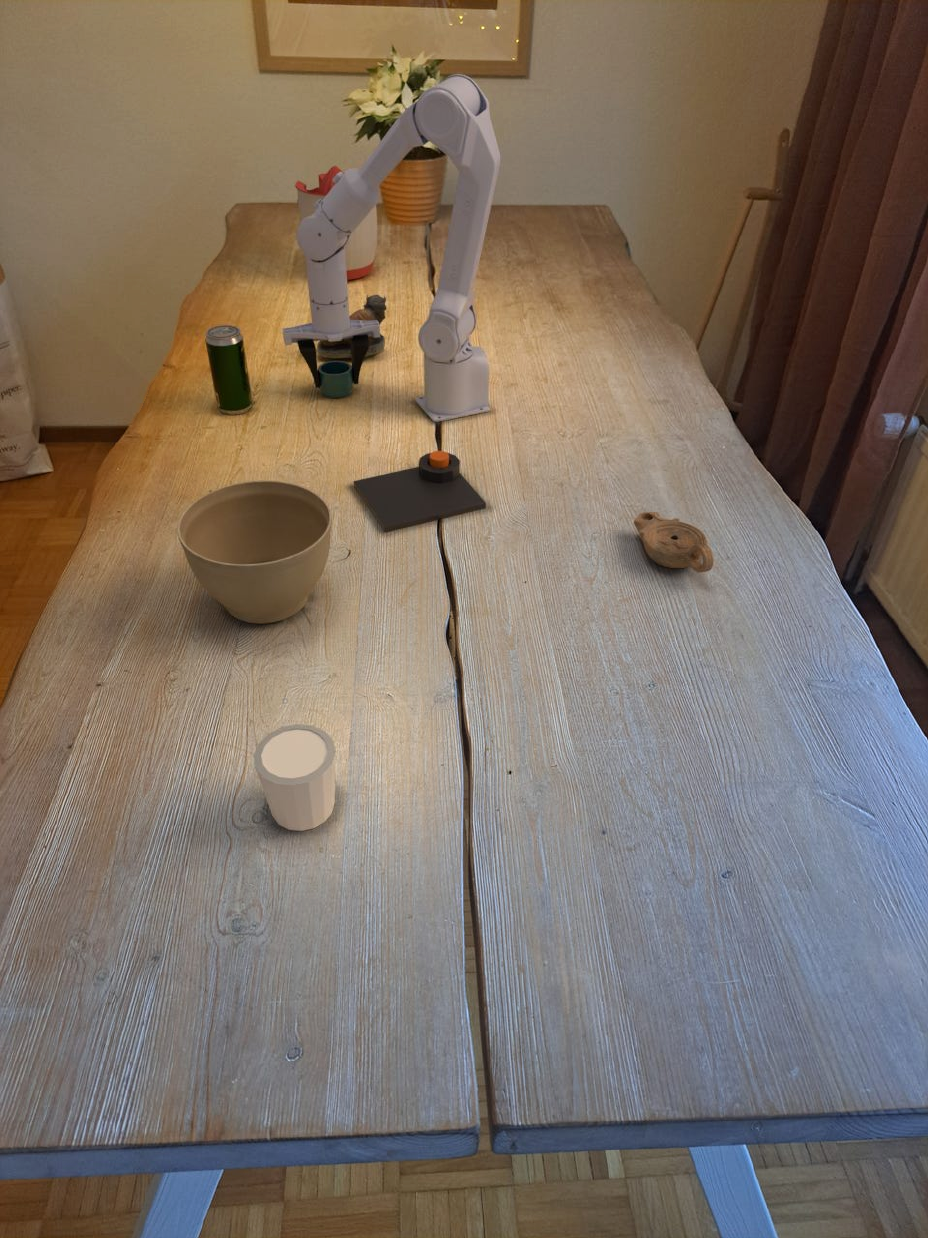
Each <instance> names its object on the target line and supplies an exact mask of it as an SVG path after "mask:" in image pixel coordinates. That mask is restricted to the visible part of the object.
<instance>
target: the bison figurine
mask: <svg viewBox="0 0 928 1238" xmlns="http://www.w3.org/2000/svg"><path fill="white" fill-rule="evenodd" d="M365 299H366V302H365V304H364V305H363V308H360V309H357V310H356V311H354V312H353V313H351V314H349V315H350V320H363V321H375V320H377V321H378V323H379V325H380V326H381V323H383V321H384V320H385V319H386V310H388V309H387V305H386V302H387V296H386V294H384V295H383V297H382V296H381V295H379V294H372V295H370V296H369V294H367V295H366V297H365ZM368 340H369V349H368V351H367V353H366V355H365V357H369V356H374V355H379V354H382V353H383V352H384V349H385V345H386V339H385V336H384V335H383V334H381V333H380V337H376V338H374V337H373V336H368ZM316 351H317V353H318V354H319V356H321V357H324V358H330V359H352V358H351V347H350V338H344V339H342V340H341V341H332V342H330V341H328V340H321V341H317V344H316Z"/></svg>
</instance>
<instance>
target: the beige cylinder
mask: <svg viewBox="0 0 928 1238" xmlns="http://www.w3.org/2000/svg"><path fill="white" fill-rule="evenodd" d="M336 755H337V754H336V746H335V743H334V740H333V739H332V737H331V736H330V735H329V734H328V733H327V732H326V730H324V729H321V728H320V727H316V726H315V725H313V724H312V725H311V724H302V723H301V724H300V723H295V724H291V725H285V726H281V727H279V728H277V729H275V730H273V731H271V732H269V733H268V734H266V735H265V736H264V737H263V738H262V739H261V740H260V742H259V743H257V746H256V749H255V751H254V754H253V761H254V762H253V763H254V768H255V771H256V773H257V776H258V779H259V782H260V786H261V788H262V791H263V793H264V794H263V795H264V796H265V799H266V802H267V806H268V808H269V810H270V813H271V816H272V818H273V819H274V821H275V822H276V824H277V825H278V826H280V827H283V828H285V829H286V830H289V831H298V832H302V831H303V832H304V831H308V830H312V829H313V830H314V829H315V828H317V827H318V826H321V825H322V824H324V823H325V822H326V821H327V820H328V819H329V817H330V816H331V815H332V814H333V810H334V807H335V804H336V803H335V802H336Z"/></svg>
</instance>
